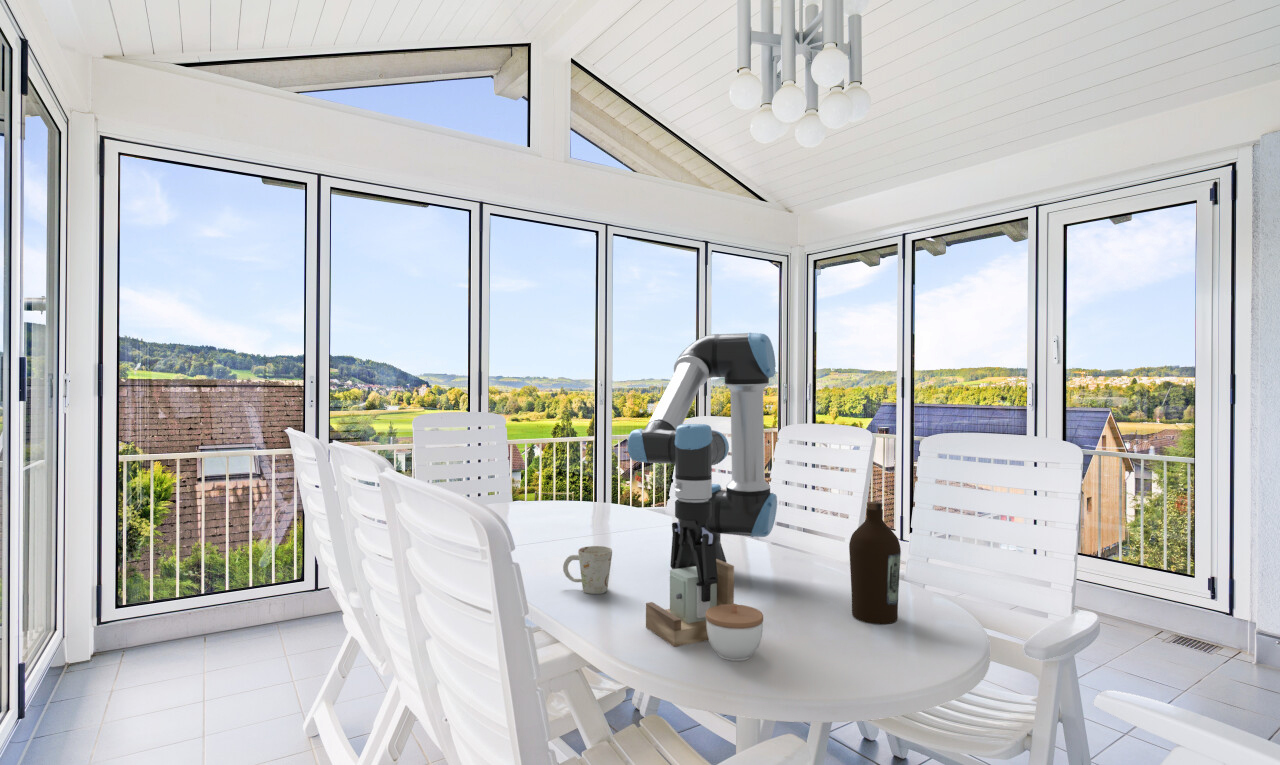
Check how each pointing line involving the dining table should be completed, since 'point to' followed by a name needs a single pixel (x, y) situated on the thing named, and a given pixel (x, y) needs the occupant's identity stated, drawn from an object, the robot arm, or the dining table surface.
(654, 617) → the wooden stand
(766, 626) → the dining table surface
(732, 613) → the lidded jar
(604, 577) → the mug
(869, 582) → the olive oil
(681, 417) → the robot arm
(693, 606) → the cabinet block
